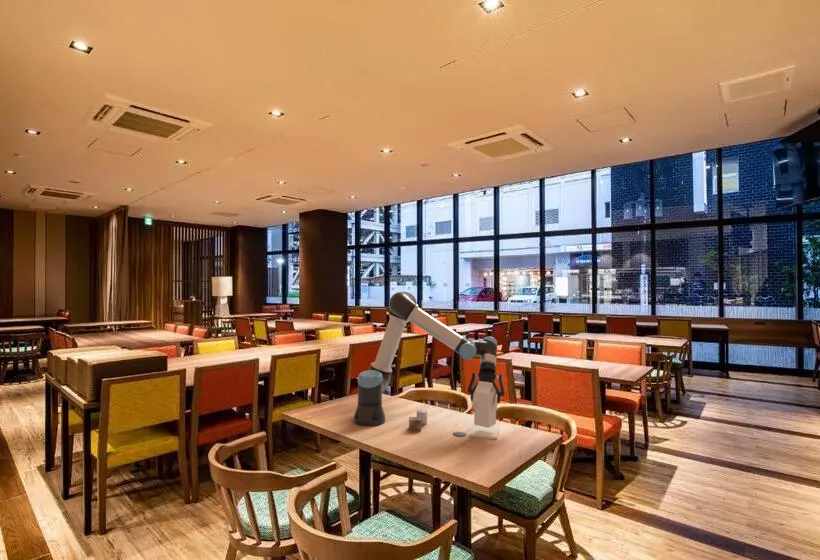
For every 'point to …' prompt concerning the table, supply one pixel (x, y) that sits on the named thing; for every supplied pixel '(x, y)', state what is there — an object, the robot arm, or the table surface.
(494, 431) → the plate
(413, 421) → the walnut block
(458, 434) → the slate coaster
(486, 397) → the milk carton
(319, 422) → the table surface
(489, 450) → the table surface
